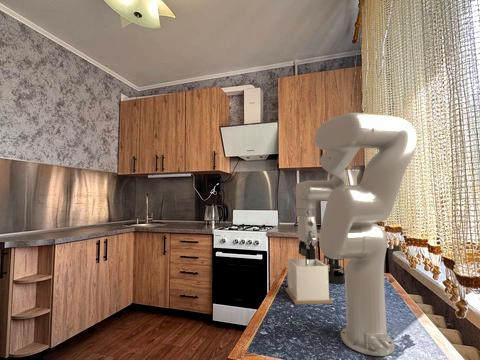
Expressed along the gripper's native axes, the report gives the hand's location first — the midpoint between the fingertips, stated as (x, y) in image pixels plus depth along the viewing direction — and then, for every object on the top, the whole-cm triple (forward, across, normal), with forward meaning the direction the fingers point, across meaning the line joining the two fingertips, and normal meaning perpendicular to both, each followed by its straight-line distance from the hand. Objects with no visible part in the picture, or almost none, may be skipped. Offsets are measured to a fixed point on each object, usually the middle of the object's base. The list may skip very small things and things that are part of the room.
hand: (306, 256), depth 99 cm
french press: (+16, +18, -19) cm, 30 cm away
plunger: (+12, 0, 0) cm, 12 cm away
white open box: (+15, 0, 0) cm, 15 cm away
